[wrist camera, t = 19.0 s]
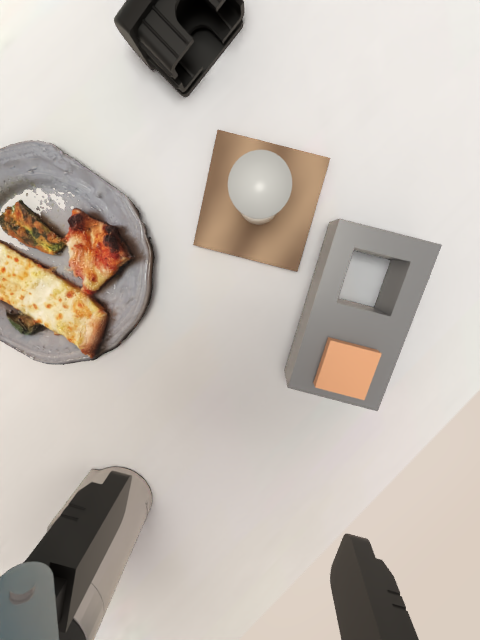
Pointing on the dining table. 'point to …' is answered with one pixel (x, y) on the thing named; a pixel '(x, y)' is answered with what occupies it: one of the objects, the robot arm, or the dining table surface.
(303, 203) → the walnut board
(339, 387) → the orange cube
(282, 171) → the cylinder
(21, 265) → the food plate
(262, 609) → the dining table surface
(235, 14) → the end cap
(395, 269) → the grey hollow block
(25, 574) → the robot arm
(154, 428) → the dining table surface
